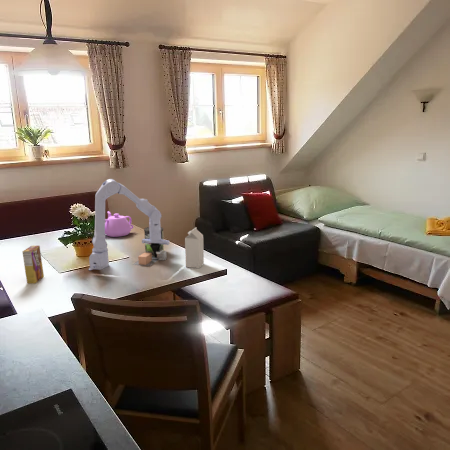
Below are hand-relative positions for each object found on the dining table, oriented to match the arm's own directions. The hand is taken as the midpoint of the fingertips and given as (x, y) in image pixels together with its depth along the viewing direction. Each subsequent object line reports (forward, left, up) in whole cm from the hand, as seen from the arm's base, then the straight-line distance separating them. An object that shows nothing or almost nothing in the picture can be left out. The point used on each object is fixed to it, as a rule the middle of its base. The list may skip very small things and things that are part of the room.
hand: (156, 257), depth 218 cm
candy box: (-40, +42, -2) cm, 58 cm away
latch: (-1, -3, -1) cm, 4 cm away
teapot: (+45, +48, -2) cm, 65 cm away
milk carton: (-2, -22, -2) cm, 22 cm away
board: (-4, +3, -2) cm, 5 cm away
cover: (-6, +3, -1) cm, 7 cm away
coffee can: (+12, +6, -2) cm, 13 cm away
